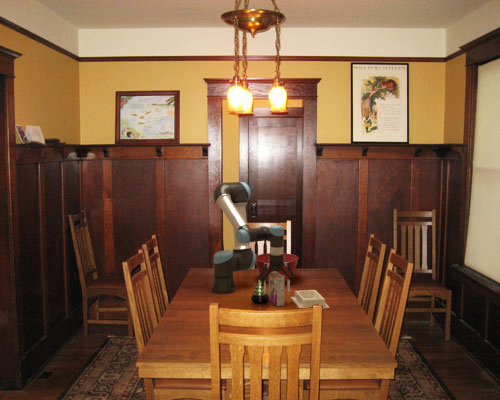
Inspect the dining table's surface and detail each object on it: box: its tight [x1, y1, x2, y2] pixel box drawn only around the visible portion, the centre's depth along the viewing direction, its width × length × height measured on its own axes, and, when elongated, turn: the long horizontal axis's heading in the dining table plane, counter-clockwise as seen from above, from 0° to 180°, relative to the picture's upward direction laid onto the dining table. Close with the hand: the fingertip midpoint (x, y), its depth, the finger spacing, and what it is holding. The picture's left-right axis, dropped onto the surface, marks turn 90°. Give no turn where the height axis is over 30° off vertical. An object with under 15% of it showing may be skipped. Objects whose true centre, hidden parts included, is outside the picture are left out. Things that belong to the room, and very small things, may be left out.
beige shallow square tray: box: [290, 289, 330, 310], centre depth 257 cm, size 16×20×4 cm
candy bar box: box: [268, 271, 286, 307], centre depth 256 cm, size 11×5×16 cm, turn 22°
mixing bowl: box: [255, 252, 299, 283], centre depth 300 cm, size 28×28×16 cm
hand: (276, 291), depth 257 cm, fingers open, 13 cm apart
